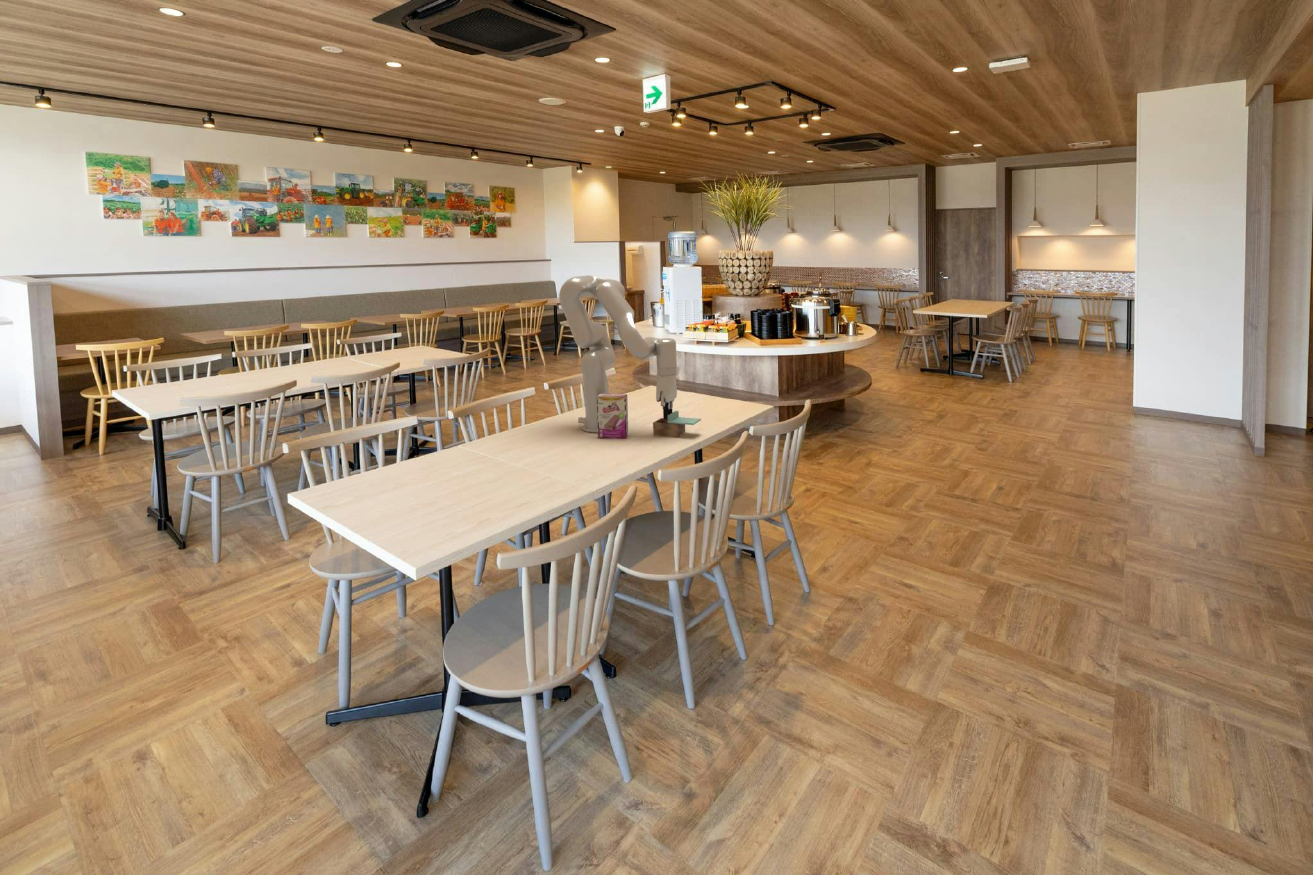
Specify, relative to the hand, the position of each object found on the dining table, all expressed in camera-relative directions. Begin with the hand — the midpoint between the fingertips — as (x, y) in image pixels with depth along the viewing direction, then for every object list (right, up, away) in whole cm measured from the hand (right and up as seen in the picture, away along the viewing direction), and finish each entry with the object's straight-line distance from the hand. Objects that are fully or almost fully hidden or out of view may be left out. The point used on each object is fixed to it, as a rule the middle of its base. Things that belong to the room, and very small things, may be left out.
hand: (668, 418), depth 281 cm
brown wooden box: (+1, -6, +1) cm, 6 cm away
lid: (+6, -1, -3) cm, 7 cm away
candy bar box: (-21, -7, -1) cm, 22 cm away
